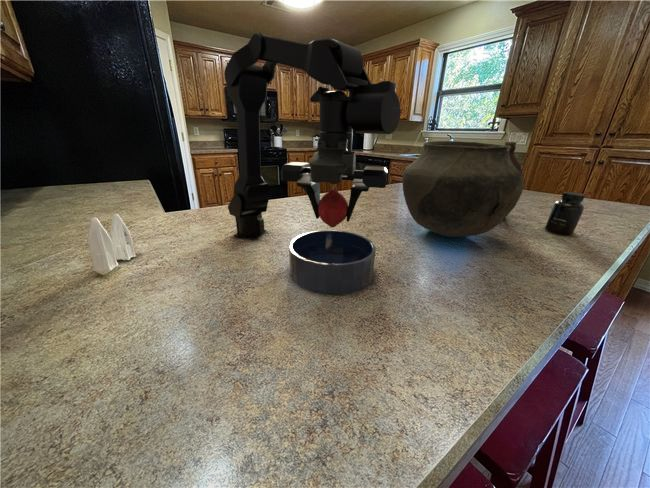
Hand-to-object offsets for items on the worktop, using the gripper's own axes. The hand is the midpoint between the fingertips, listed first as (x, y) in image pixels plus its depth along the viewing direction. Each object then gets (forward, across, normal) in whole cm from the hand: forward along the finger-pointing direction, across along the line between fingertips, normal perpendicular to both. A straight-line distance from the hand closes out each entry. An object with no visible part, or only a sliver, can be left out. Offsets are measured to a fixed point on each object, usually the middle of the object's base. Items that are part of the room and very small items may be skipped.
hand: (332, 219), depth 52 cm
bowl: (+11, 0, 0) cm, 11 cm away
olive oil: (+12, +46, +54) cm, 72 cm away
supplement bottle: (+11, +62, +43) cm, 76 cm away
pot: (+12, +29, +32) cm, 45 cm away
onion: (+2, 0, 0) cm, 2 cm away
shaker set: (+12, -44, -10) cm, 46 cm away
